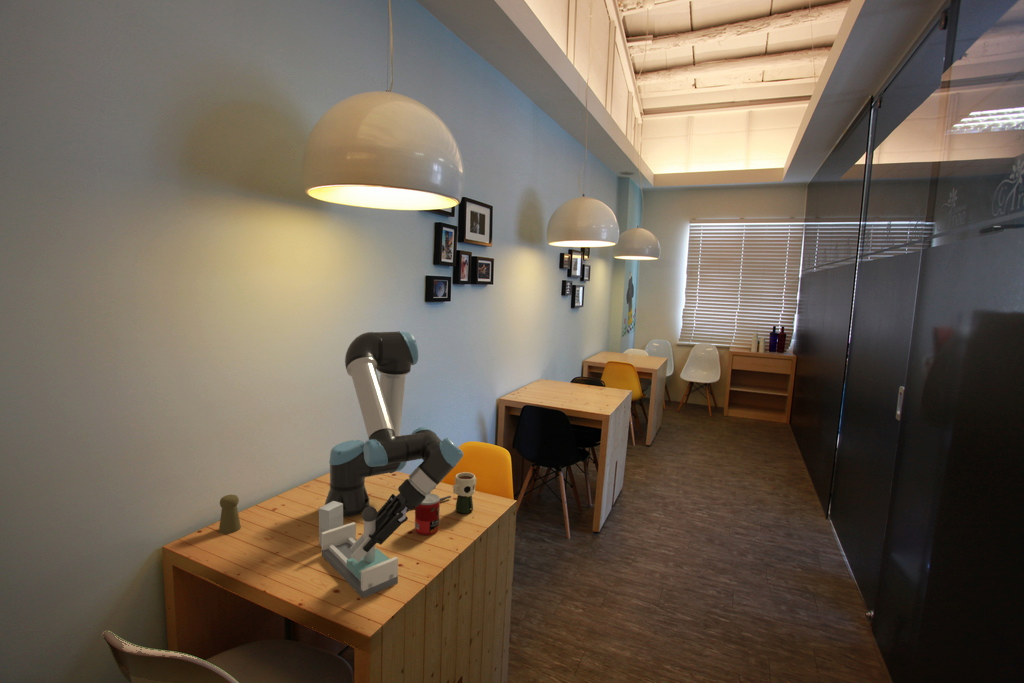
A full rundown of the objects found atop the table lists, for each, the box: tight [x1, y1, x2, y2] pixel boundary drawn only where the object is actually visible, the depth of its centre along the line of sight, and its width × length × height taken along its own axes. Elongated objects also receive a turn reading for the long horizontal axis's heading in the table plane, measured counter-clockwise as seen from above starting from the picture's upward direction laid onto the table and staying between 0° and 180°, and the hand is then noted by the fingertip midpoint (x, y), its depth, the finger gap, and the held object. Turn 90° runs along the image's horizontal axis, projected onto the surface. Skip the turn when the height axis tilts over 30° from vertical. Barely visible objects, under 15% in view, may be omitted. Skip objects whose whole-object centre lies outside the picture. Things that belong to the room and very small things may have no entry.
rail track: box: [321, 521, 399, 599], centre depth 133 cm, size 26×10×7 cm, turn 44°
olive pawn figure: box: [218, 494, 242, 535], centre depth 151 cm, size 6×6×11 cm
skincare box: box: [318, 501, 344, 547], centre depth 146 cm, size 6×4×12 cm
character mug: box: [452, 471, 477, 514], centre depth 171 cm, size 11×7×13 cm, turn 139°
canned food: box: [414, 492, 441, 536], centre depth 156 cm, size 8×8×11 cm
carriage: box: [347, 505, 390, 580], centre depth 128 cm, size 8×9×17 cm
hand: (354, 554), depth 127 cm, fingers closed on carriage, 3 cm apart
